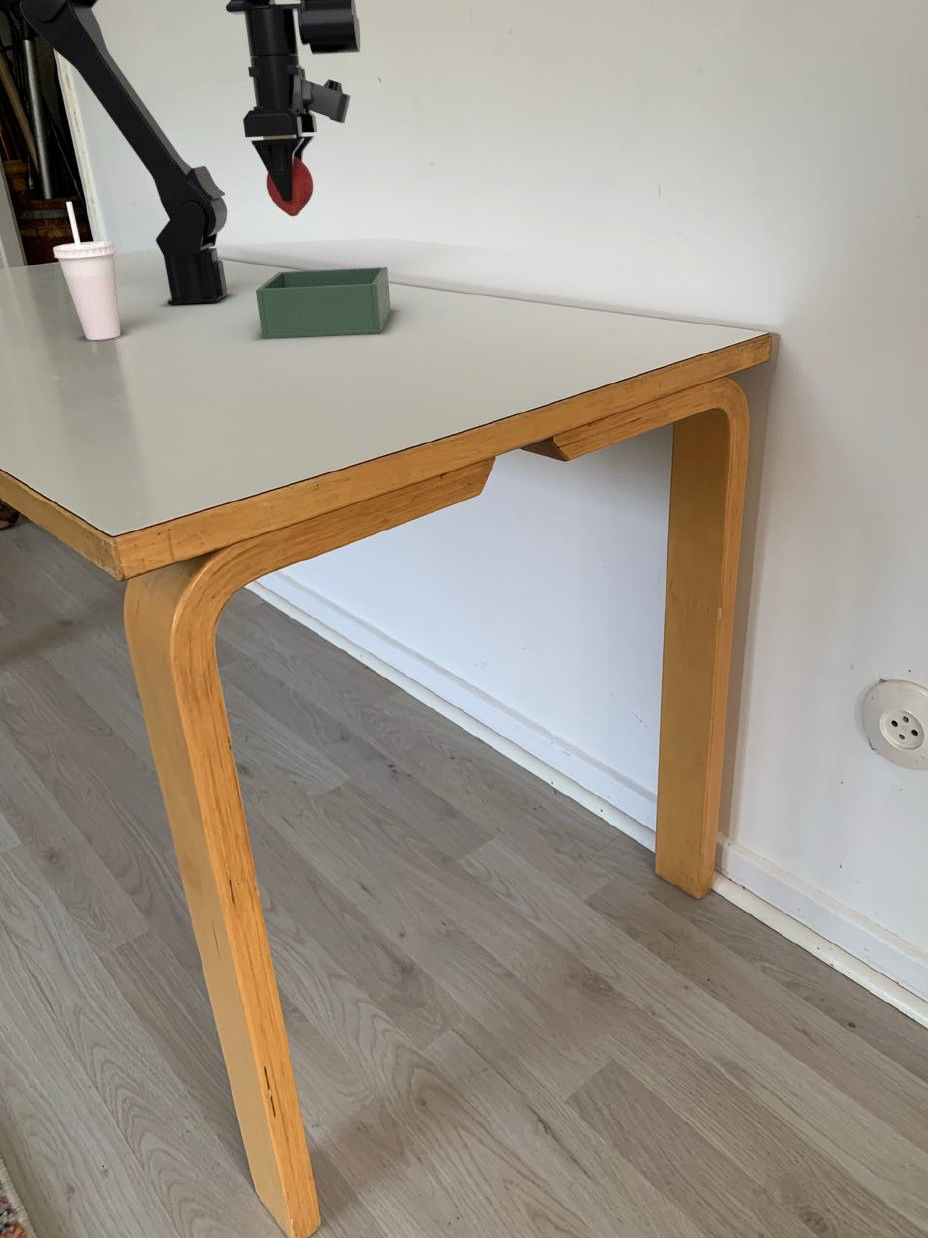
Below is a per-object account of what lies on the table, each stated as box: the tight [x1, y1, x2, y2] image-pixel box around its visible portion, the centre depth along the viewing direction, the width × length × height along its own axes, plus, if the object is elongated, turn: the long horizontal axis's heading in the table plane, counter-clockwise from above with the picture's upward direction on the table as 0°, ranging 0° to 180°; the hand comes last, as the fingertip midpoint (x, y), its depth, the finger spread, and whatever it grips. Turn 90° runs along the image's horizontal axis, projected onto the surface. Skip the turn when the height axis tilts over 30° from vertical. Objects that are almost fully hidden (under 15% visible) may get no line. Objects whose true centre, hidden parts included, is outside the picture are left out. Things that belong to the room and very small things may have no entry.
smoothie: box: [52, 201, 122, 341], centre depth 104 cm, size 6×6×14 cm
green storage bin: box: [255, 266, 392, 339], centre depth 107 cm, size 13×13×5 cm
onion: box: [266, 156, 314, 217], centre depth 120 cm, size 6×6×8 cm
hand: (291, 199), depth 121 cm, fingers closed on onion, 6 cm apart
